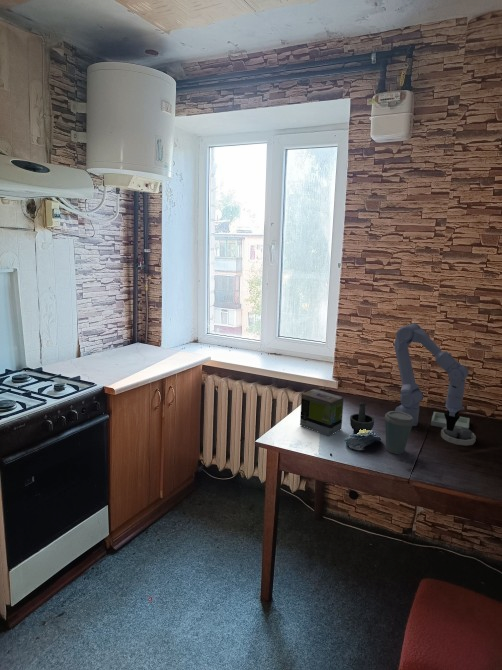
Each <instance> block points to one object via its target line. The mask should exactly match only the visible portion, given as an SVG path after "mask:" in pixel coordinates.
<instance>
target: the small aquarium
mask: <svg viewBox="0 0 502 670" xmlns="http://www.w3.org/2000/svg"><path fill="white" fill-rule="evenodd" d="M300 398H301V399H300V400H301V401H300V421H299V422H300V423H299V426H300V425H302V426H301V427H303V426H305V427H308V428H310V429H309V430H311V429H313V430H312V431H314V430H315V431H314V432H317V431H318V432H317V433H319V432H321V433H320V434H322V433H323V434H322V435H325V434H326V435H325V436H327V435H328V436H327V437H331V436H333V435H334V434H336V433H337V431H338V430H339V431H341V430H342V423H343V412H344V411H343V409H344V396H341V395H337V394H333V393H330V392H327V391H324V390H320V389H317V388H313V389H311V390H308V391H306V392H304V393H301V397H300ZM305 427H304V428H305ZM308 428H307V429H308ZM340 429H341V430H340ZM339 431H338V432H339ZM335 432H336V433H335ZM333 433H334V434H333ZM332 434H333V435H332ZM330 435H331V436H330Z"/></svg>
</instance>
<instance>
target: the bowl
mask: <svg viewBox="0 0 502 670" xmlns="http://www.w3.org/2000/svg"><path fill="white" fill-rule="evenodd" d="M457 428H458V427H457ZM460 429H462V428H458V434H459V433H460ZM440 436H441V438H442V440H445V441H446V442H448V443H451V444H454V445H458V446H465V447H466V446H473V445H474V444H475V442H476V439H477V436H476V434H475V433H474V432H472V436H471V439H469V440H462V439H459V438H457V439H456V438H453V437H450V436H448V435H446V427H445V428H441V430H440Z"/></svg>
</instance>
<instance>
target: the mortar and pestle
mask: <svg viewBox="0 0 502 670" xmlns="http://www.w3.org/2000/svg"><path fill="white" fill-rule="evenodd" d="M358 405H359V407H358V408H359V410H358V413H354V414H351V415H350V416H349V424H350V427H351V429H352V430H353V434H352V435H354V434H357V433H358V432H359V430H360V429H361V430H363V429H366V430H370V431H372V429H373V428H374V426H375V425H374V424H375V418H374V417H372V416H371V415H370V414H366V405H367V404H366V402H359V404H358Z"/></svg>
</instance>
